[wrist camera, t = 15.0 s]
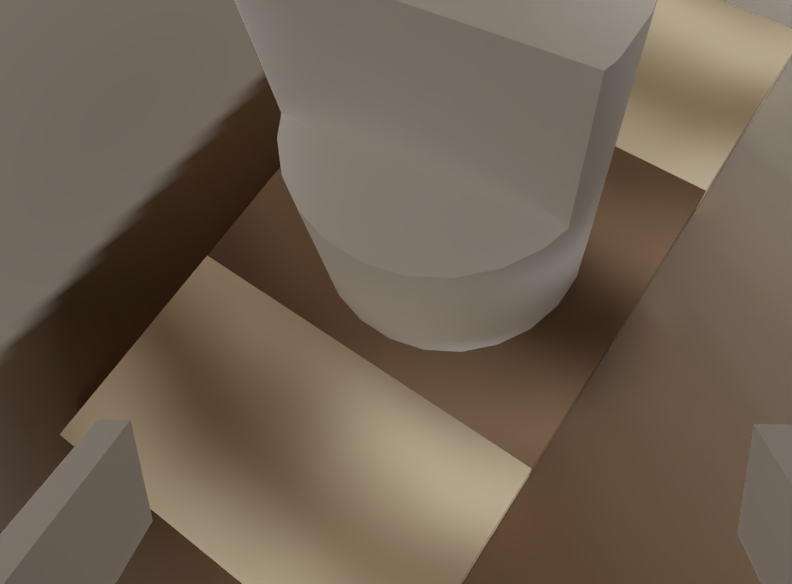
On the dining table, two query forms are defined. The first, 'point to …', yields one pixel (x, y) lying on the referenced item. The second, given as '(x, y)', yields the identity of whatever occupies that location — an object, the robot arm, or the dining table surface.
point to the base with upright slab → (449, 149)
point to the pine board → (410, 354)
